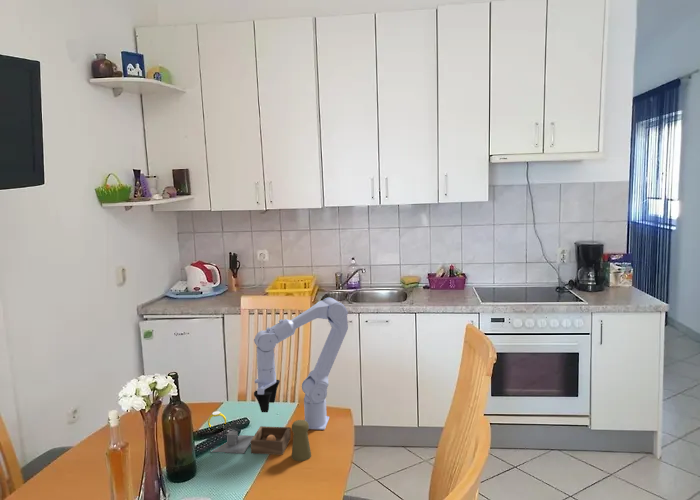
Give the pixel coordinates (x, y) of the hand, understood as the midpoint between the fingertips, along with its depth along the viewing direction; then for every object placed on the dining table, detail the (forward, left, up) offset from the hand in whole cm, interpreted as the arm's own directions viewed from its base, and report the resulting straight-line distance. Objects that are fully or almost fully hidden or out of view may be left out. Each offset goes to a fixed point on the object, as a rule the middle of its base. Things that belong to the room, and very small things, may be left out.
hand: (268, 406), depth 175 cm
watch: (-2, -19, -10) cm, 21 cm away
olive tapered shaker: (+13, +14, -10) cm, 22 cm away
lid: (+8, -10, -10) cm, 16 cm away
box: (+8, +3, -9) cm, 13 cm away
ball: (+8, +3, -7) cm, 11 cm away
